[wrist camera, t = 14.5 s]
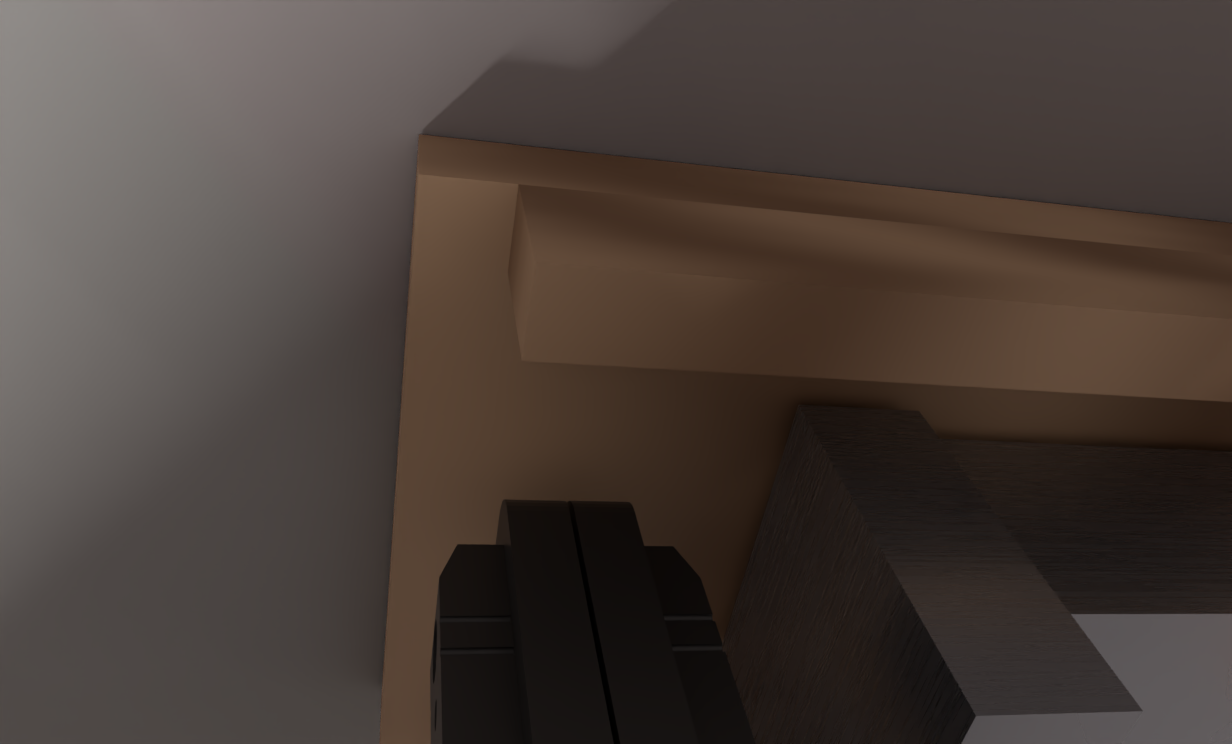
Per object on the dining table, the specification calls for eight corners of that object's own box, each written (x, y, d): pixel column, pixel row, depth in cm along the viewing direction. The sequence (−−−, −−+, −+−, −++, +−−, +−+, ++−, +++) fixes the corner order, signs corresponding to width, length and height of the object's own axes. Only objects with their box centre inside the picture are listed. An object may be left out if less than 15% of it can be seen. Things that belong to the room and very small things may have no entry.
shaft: (717, 659, 14) (825, 995, 10) (798, 405, 12) (977, 715, 8) (1208, 653, 16) (1450, 934, 12) (1358, 432, 14) (1714, 694, 10)
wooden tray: (381, 690, 15) (352, 1356, 9) (418, 134, 11) (412, 696, 4) (1389, 671, 20) (1841, 1103, 13) (1719, 276, 15) (2636, 651, 9)
